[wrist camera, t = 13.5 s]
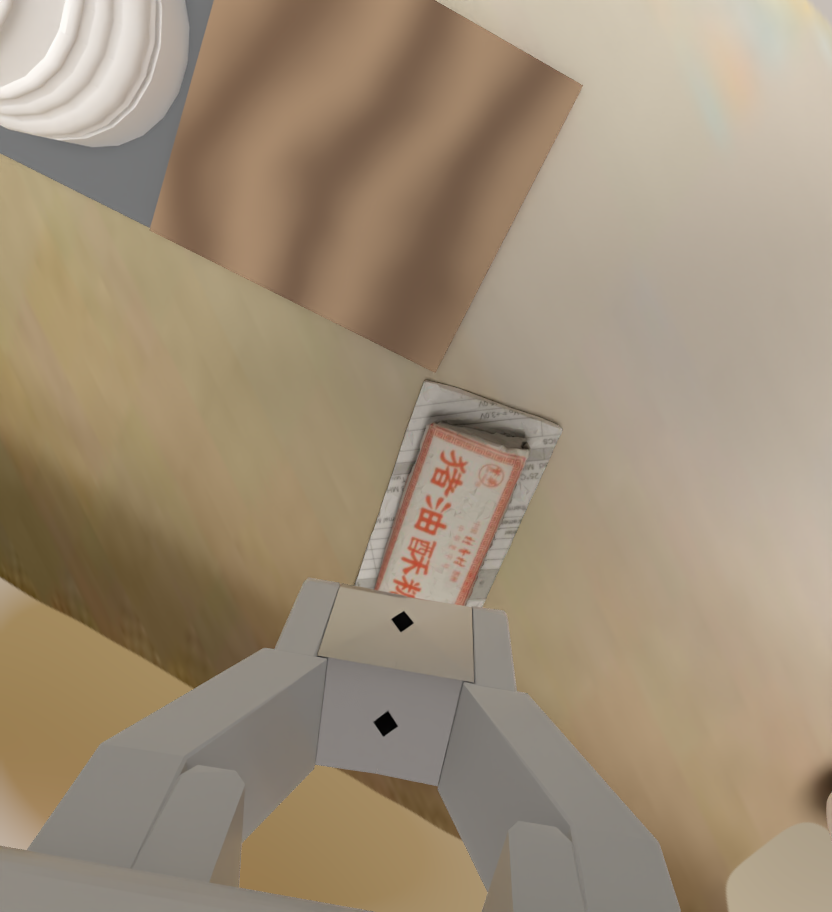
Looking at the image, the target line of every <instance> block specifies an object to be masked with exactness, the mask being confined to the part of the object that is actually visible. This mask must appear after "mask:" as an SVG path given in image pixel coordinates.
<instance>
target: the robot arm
mask: <svg viewBox="0 0 832 912" xmlns="http://www.w3.org/2000/svg"><path fill="white" fill-rule="evenodd" d="M315 765H321V766H328V767H335V768H342V769H349V770H355V771H362V772H369V773H376V774H381V775H386V776H391V777H396V778H401V779H405V780H410V781H415V782H420V783H425V784H430V785H435V786H438V791H439V793H440V795H441V797H442V799H443V801H444V803H445V805H446V808H447V810H448V812H449V814H450V816H451V818H452V820H453V822H454V824H455V826H456V828H457V830H458V832H459V834H460V836H461V838H462V841H463V843H464V845H465V847H466V849H467V851H468V853H469V855H470V857H471V859H472V861H473V863H474V865H475V867H476V869H477V871H478V874H479V876H480V878H481V880H482V882H483V884H484V886H485V888H486V890H487V892H488V894H487V897H486V900H485V903H484V906H483V909H482V912H681V910H680V907H679V904H678V901H677V898H676V894H675V891H674V888H673V885H672V882H671V879H670V876H669V873H668V869H667V866H666V863H665V860H664V857H663V854H662V851H661V847H660V844H659V842H658V841H657V840H656V839H655V838H654V836H653V835H652V834H651V833H650V832H649V831H648V830H647V829H646V827H645V826H644V825H643V824H642V823H641V822H640V821H639V819H638V818H637V817H636V816H635V815H634V814H633V813H632V812H631V810H630V809H629V808H628V807H627V806H626V805H625V804H624V802H623V801H622V800H621V799H620V798H619V797H618V796H617V795H616V793H615V792H614V791H613V790H612V789H611V788H610V787H609V785H608V784H607V783H606V782H605V781H604V780H603V779H602V778H601V776H600V775H599V774H598V773H597V772H596V771H595V770H594V768H593V767H592V766H591V765H590V764H589V763H588V762H587V761H586V759H585V758H584V757H583V756H582V755H581V754H580V753H579V751H578V750H577V749H576V748H575V747H574V746H573V745H572V744H571V742H570V741H569V740H568V739H567V738H566V737H565V736H564V734H563V733H562V732H561V731H560V730H559V729H558V728H557V727H556V725H555V724H554V723H553V722H552V721H551V720H550V719H549V717H548V716H547V715H546V714H545V713H544V712H543V711H542V710H541V708H540V707H539V706H538V705H537V704H536V703H535V702H534V700H533V699H532V698H531V697H530V696H529V695H528V694H527V693H523V692H517V689H516V681H515V673H514V665H513V657H512V649H511V641H510V633H509V625H508V617H507V614H506V613H505V611H503V610H496V609H489V608H482V607H475V606H471V607H468V606H462V605H456V604H449V603H443V602H437V601H431V600H425V599H419V598H413V597H406V596H405V595H400V594H395V593H390V592H384V591H379V590H374V589H369V588H364V587H359V586H354V585H348V584H343V583H342V584H340V583H338V582H332V581H326V580H321V579H315V578H307V579H306V580H305V581H304V582H303V585H302V587H301V589H300V592H299V594H298V596H297V598H296V601H295V603H294V605H293V608H292V610H291V612H290V615H289V617H288V619H287V621H286V624H285V626H284V628H283V631H282V633H281V635H280V638H279V640H278V642H277V644H276V647H275V649H269V648H263V649H261V650H259V651H258V652H256V653H254V654H253V655H251V656H249V657H247V658H246V659H244V660H242V661H241V662H239V663H237V664H235V665H234V666H232V667H230V668H229V669H227V670H225V671H224V672H222V673H220V674H218V675H217V676H215V677H213V678H212V679H210V680H208V681H207V682H205V683H203V684H201V685H200V686H198V687H196V688H195V689H193V690H191V691H190V692H188V693H186V694H184V695H183V696H181V697H179V698H178V699H176V700H174V701H172V702H171V703H169V704H167V705H166V706H164V707H162V708H161V709H159V710H157V711H156V712H154V713H152V714H150V715H149V716H147V717H145V718H143V719H142V720H140V721H138V722H137V723H135V724H133V725H132V726H130V727H128V728H126V729H125V730H123V731H121V732H120V733H118V734H116V735H115V736H113V737H111V738H109V739H108V740H106V741H104V742H103V743H101V744H100V745H99V747H98V748H97V750H96V751H95V753H94V754H93V755H92V757H91V758H90V760H89V761H88V763H87V764H86V766H85V767H84V769H83V770H82V771H81V773H80V774H79V776H78V777H77V779H76V780H75V781H74V783H73V784H72V786H71V787H70V789H69V790H68V792H67V793H66V794H65V796H64V797H63V799H62V800H61V802H60V803H59V804H58V806H57V807H56V809H55V810H54V812H53V813H52V815H51V816H50V818H49V819H48V820H47V822H46V823H45V825H44V826H43V827H42V829H41V831H40V832H39V833H38V835H37V836H36V838H35V839H34V840H33V842H32V843H31V845H30V846H29V848H28V849H27V850H22V849H16V848H11V847H5V846H0V912H373V911H367V910H362V909H356V908H350V907H344V906H339V905H334V904H328V903H322V902H317V901H311V900H305V899H299V898H294V897H288V896H282V895H277V894H271V893H266V892H260V891H254V890H249V889H243V888H239V878H240V861H241V844H242V842H243V841H244V840H245V839H246V838H247V837H248V836H249V835H250V834H251V833H252V832H253V831H254V830H255V829H256V828H257V827H258V826H259V825H260V824H261V823H262V822H263V821H264V819H266V818H267V817H268V816H269V815H270V814H271V812H273V811H274V809H275V808H276V807H277V806H278V805H279V804H280V803H281V802H282V801H283V800H284V799H285V798H286V797H287V796H288V795H289V794H290V793H291V792H292V791H293V790H294V789H295V788H296V786H298V785H299V784H300V783H301V782H302V780H304V779H305V777H306V776H307V775H308V774H309V773H310V772H311V771H312V770H313V769H314V766H315Z"/></svg>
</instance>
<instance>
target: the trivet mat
mask: <svg viewBox="0 0 832 912" xmlns="http://www.w3.org/2000/svg"><path fill="white" fill-rule="evenodd" d="M185 2H186V9H187V15H188V21H189V27H190V29H189V48H188V63H187V67H186V70H185V73H184V77H183V80H182V84H181V87H180V90H179V93H178V95H177V97H176V98H175V100H174V101H173V103H172V105H171V106H170V108H169V110H168V111H167V113H166V114H165V116H164V118H163V119H161V120H160V121H159V122H158V123H157V124H156V125H155V126H153V127H152V128H151V129H150V130H149V131H148V132H147V133H145V134H144V135H143V136H141V137H138V138H136V139H133V140H131V141H129V142H126V143H124V144H121V145H119V146H104V147H89V146H84V145H79V144H74V143H69V142H64V141H59V140H55V139H50V138H46V137H41V136H36V135H31V134H27V133H23V132H18V131H14V130H10V129H7V128H5V127H3V126H1V125H0V153H1V154H3V155H5V156H7V157H9V158H11V159H13V160H15V161H17V162H19V163H21V164H23V165H25V166H27V167H29V168H31V169H33V170H35V171H37V172H39V173H41V174H43V175H45V176H47V177H49V178H51V179H53V180H55V181H57V182H59V183H61V184H63V185H65V186H67V187H69V188H71V189H73V190H75V191H77V192H79V193H81V194H83V195H85V196H87V197H89V198H91V199H93V200H95V201H97V202H99V203H101V204H103V205H105V206H107V207H109V208H111V209H113V210H115V211H117V212H119V213H121V214H123V215H125V216H127V217H129V218H131V219H133V220H135V221H137V222H139V223H141V224H143V225H145V226H147V227H149V228H150V227H151V223H152V220H153V216H154V212H155V209H156V205H157V202H158V198H159V195H160V191H161V187H162V184H163V180H164V177H165V173H166V169H167V166H168V162H169V159H170V155H171V152H172V148H173V144H174V141H175V137H176V134H177V130H178V127H179V123H180V119H181V116H182V112H183V109H184V105H185V102H186V98H187V94H188V91H189V87H190V84H191V80H192V77H193V73H194V69H195V66H196V62H197V59H198V55H199V52H200V48H201V44H202V41H203V37H204V34H205V30H206V27H207V23H208V19H209V16H210V12H211V9H212V5H213V2H214V0H185Z"/></svg>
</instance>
